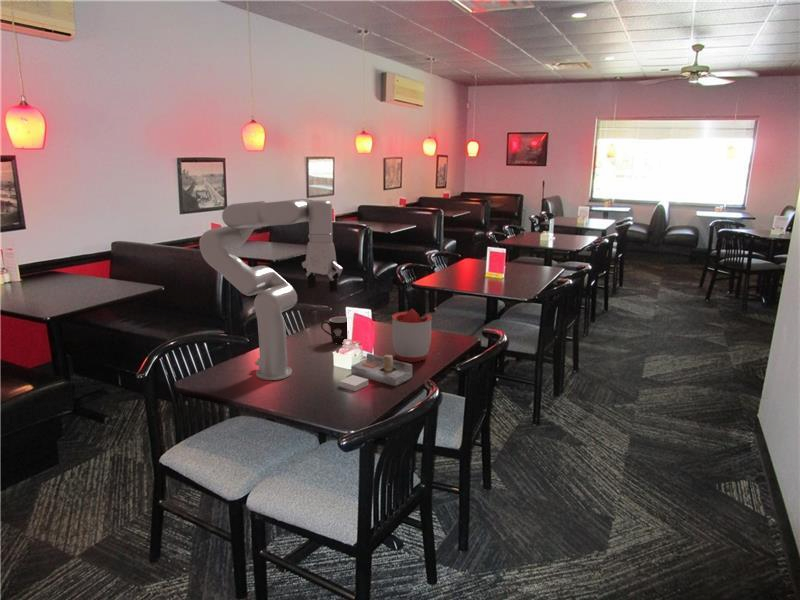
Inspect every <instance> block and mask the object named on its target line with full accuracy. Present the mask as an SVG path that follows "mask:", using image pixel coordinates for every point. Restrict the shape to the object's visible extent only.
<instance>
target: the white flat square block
mask: <svg viewBox="0 0 800 600" xmlns="http://www.w3.org/2000/svg"><path fill="white" fill-rule="evenodd" d="M367 386H369V379H368V378H365V377H361V376H358V375H354V374H351V375H349V376H347V377H345V378H343V379H341V380H339V387H340V388H344V389H346V390H350V391H352V392H353V391H354V392H357V391H359V390H361V389H364V388H365V387H367Z"/></svg>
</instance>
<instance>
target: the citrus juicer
mask: <svg viewBox="0 0 800 600" xmlns="http://www.w3.org/2000/svg"><path fill="white" fill-rule="evenodd" d="M391 318H392V330H391V331H392V333H391V334H392V335H391V338H392V345H393V350H394V354H395V356H396V359H397V360H398V361H401V362H406V361H407V362H406V363H413V362H414V363H417V361H418V362H422V361H424V360H426V359H427V356H428V354H429V350H430V346H431V340H432V319H433V316H432V315H431V314H429V313H427V314H426V315H424V317H423V318H422V317H420V315H419V313H418V312H417V311H416V310H415V309H414V308H410V309H409V310H408V311H399V312H395V313H394V314H392V315H391ZM421 360H422V361H421Z"/></svg>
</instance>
